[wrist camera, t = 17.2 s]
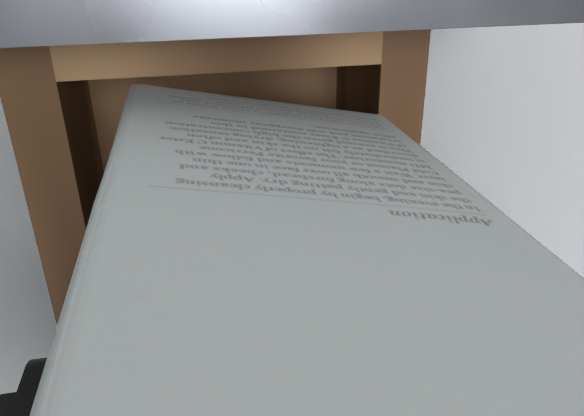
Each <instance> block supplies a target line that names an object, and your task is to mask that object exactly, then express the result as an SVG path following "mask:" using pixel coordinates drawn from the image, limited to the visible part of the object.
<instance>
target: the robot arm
mask: <svg viewBox="0 0 584 416" xmlns="http://www.w3.org/2000/svg"><path fill="white" fill-rule="evenodd" d="M46 360H47V358H40V359H33V360H30V361H28V363H27V365H26V367H25V370H24V372H23V375H22V378H21V381H20V384H19V387H18V389H17V392H14V393H7V394H1V395H0V416H30V413H31V409H32V406H33V403H34V400H35V396H36V393H37V390H38V386H39V383H40V380H41V377H42V373H43V370H44V367H45V363H46Z"/></svg>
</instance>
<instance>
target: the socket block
mask: <svg viewBox="0 0 584 416" xmlns="http://www.w3.org/2000/svg"><path fill="white" fill-rule="evenodd" d="M430 32H431V29H424V30H401V31H378V32H355V33H332V34H309V35H286V36H264V37H241V38H218V39H195V40H172V41H149V42H126V43H103V44H80V45H57V46H34V47H11V48H0V96H1V100H2V104H3V108H4V112H5V116H6V120H7V124H8V128H9V133H10V137H11V141H12V145H13V149H14V153H15V157H16V161H17V165H18V169H19V173H20V177H21V181H22V185H23V189H24V193H25V197H26V201H27V205H28V209H29V213H30V217H31V221H32V225H33V229H34V234H35V238H36V242H37V246H38V250H39V254H40V258H41V262H42V266H43V270H44V274H45V278H46V282H47V286H48V290H49V294H50V298H51V302H52V306H53V310H54V314H55V318H56V322H57V324H58V321H59V317H60V314H61V311H62V308H63V304H64V301H65V298H66V294H67V291H68V288H69V285H70V281H71V278H72V275H73V271H74V268H75V265H76V262H77V258H78V255H79V252H80V248H81V245H82V242H83V238H84V235H85V232H86V228H87V225H88V222H89V218H90V215H91V211H92V208H93V204H94V201H95V198H96V195H97V193H98V190H99V187H100V184H101V181H102V178H103V175H104V172H105V169H106V166H107V162H108V159H109V156H110V153H111V150H112V146H113V143H114V140H115V136H116V133H117V129H118V126H119V123H120V119H121V116H122V112H123V109H124V105H125V102H126V98H127V95H128V91H129V88H130V87H131V86H132V85H133V84H145V85H153V86H160V87H168V88H175V89H183V90H191V91H199V92H206V93H214V94H221V95H228V96H236V97H244V98H252V99H260V100H268V101H276V102H283V103H291V104H299V105H307V106H315V107H323V108H331V109H338V110H346V111H354V112H362V113H371V114H379V115H382V116H384V117H385V118H387V119H388V120H389V121H391V122H392V123H393V124H394V125H395V126H397V127H398V128H399V129H400V130H401V131H403V132H404V133H405V134H406V135H407V136H409V137H410V138H411V139H412V140H414V141H415V142H416V143H417V144H419V145H420V139H421V129H422V118H423V107H424V96H425V86H426V75H427V64H428V53H429V43H430Z"/></svg>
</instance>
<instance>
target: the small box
mask: <svg viewBox="0 0 584 416" xmlns="http://www.w3.org/2000/svg"><path fill="white" fill-rule="evenodd" d="M30 416H584V278H583V277H582V276H580V275H579V274H578V273H577V272H575V271H574V270H573V269H572V268H570V267H569V266H568V265H567V264H565V263H564V262H563V261H562V260H561V259H559V258H558V257H557V256H556V255H554V254H553V253H552V252H551V251H549V250H548V249H547V248H546V247H545V246H543V245H542V244H541V243H540V242H538V241H537V240H536V239H535V238H533V237H532V236H531V235H530V234H529V233H527V232H526V231H525V230H524V229H522V228H521V227H520V226H519V225H518V224H517V223H515V222H514V221H513V220H512V219H510V218H509V217H508V216H507V215H505V214H504V213H503V212H502V211H500V210H499V209H498V208H497V207H496V206H494V205H493V204H492V203H491V202H490V201H488V200H487V199H486V198H485V197H483V196H482V195H481V194H480V193H478V192H477V191H476V190H475V189H474V188H473V187H471V186H470V185H469V184H468V183H466V182H465V181H464V180H463V179H461V178H460V177H459V176H458V175H456V174H455V173H454V172H453V171H451V170H450V169H449V168H448V167H446V166H445V165H444V164H443V163H441V162H440V161H439V160H437V159H436V158H435V157H433V156H432V155H431V154H430V153H429V152H427V151H426V150H425V149H424V148H423V147H421V146H420V145H419V144H417V143H416V142H415V141H414V140H412V139H411V138H410V137H409V136H407V135H406V134H405V133H404V132H403V131H401V130H400V129H399V128H398V127H397V126H395V125H394V124H393V123H392V122H391V121H389V120H388V119H387V118H385V117H384V116H382V115H379V114H371V113H362V112H354V111H346V110H338V109H331V108H323V107H315V106H307V105H299V104H291V103H283V102H276V101H268V100H260V99H252V98H244V97H236V96H228V95H221V94H214V93H206V92H199V91H191V90H183V89H175V88H168V87H160V86H153V85H145V84H133V85H132V86H131V87H130V88H129V91H128V95H127V98H126V102H125V105H124V109H123V112H122V116H121V119H120V123H119V126H118V129H117V133H116V136H115V140H114V143H113V146H112V150H111V153H110V156H109V159H108V162H107V166H106V169H105V172H104V175H103V178H102V181H101V184H100V187H99V190H98V193H97V195H96V198H95V201H94V204H93V208H92V211H91V215H90V218H89V222H88V225H87V228H86V232H85V235H84V238H83V242H82V245H81V248H80V252H79V255H78V258H77V262H76V265H75V268H74V271H73V275H72V278H71V281H70V285H69V288H68V291H67V294H66V298H65V301H64V304H63V308H62V311H61V314H60V317H59V321H58V324H57V327H56V331H55V334H54V337H53V340H52V344H51V347H50V350H49V354H48V357H47V360H46V363H45V367H44V370H43V373H42V377H41V380H40V383H39V386H38V390H37V393H36V396H35V400H34V403H33V406H32V409H31V413H30Z"/></svg>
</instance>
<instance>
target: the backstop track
mask: <svg viewBox="0 0 584 416" xmlns="http://www.w3.org/2000/svg"><path fill="white" fill-rule="evenodd" d="M562 23H584V0H0V48H11V47H34V46H57V45H80V44H103V43H126V42H149V41H172V40H195V39H218V38H241V37H264V36H286V35H309V34H332V33H355V32H378V31H401V30H424V29H447V28H470V27H493V26H516V25H539V24H562Z"/></svg>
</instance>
